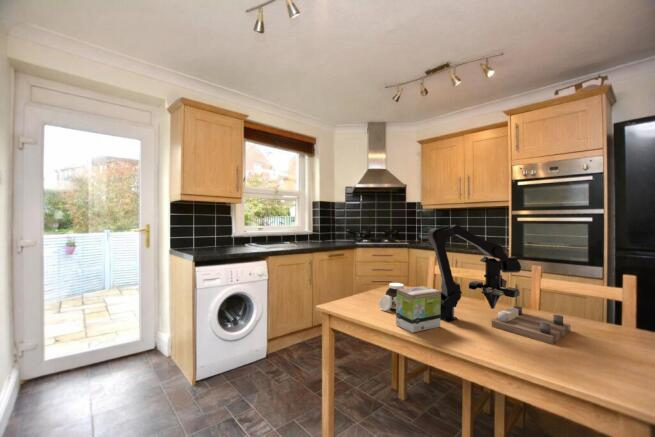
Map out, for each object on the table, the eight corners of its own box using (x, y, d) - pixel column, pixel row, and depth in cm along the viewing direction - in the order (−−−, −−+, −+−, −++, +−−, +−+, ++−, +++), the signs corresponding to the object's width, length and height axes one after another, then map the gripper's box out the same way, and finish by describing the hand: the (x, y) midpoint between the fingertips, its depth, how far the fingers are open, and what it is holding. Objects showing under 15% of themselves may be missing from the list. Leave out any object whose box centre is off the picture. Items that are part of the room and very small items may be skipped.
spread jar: (409, 308, 140) (409, 284, 139) (401, 315, 130) (401, 289, 130) (385, 304, 146) (385, 281, 146) (376, 310, 136) (376, 285, 136)
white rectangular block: (506, 323, 113) (506, 315, 113) (496, 320, 116) (496, 312, 116) (519, 316, 120) (519, 309, 120) (509, 314, 123) (509, 307, 123)
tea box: (413, 334, 109) (413, 294, 109) (395, 325, 118) (395, 288, 118) (441, 327, 116) (441, 290, 116) (422, 319, 125) (422, 284, 125)
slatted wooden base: (552, 344, 100) (552, 328, 100) (491, 326, 116) (491, 312, 116) (570, 330, 112) (570, 316, 112) (513, 316, 128) (513, 303, 128)
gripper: (525, 273, 122) (524, 310, 123) (480, 267, 138) (480, 300, 138) (513, 277, 116) (513, 316, 116) (467, 270, 131) (467, 304, 131)
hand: (492, 308), depth 125 cm, fingers closed
